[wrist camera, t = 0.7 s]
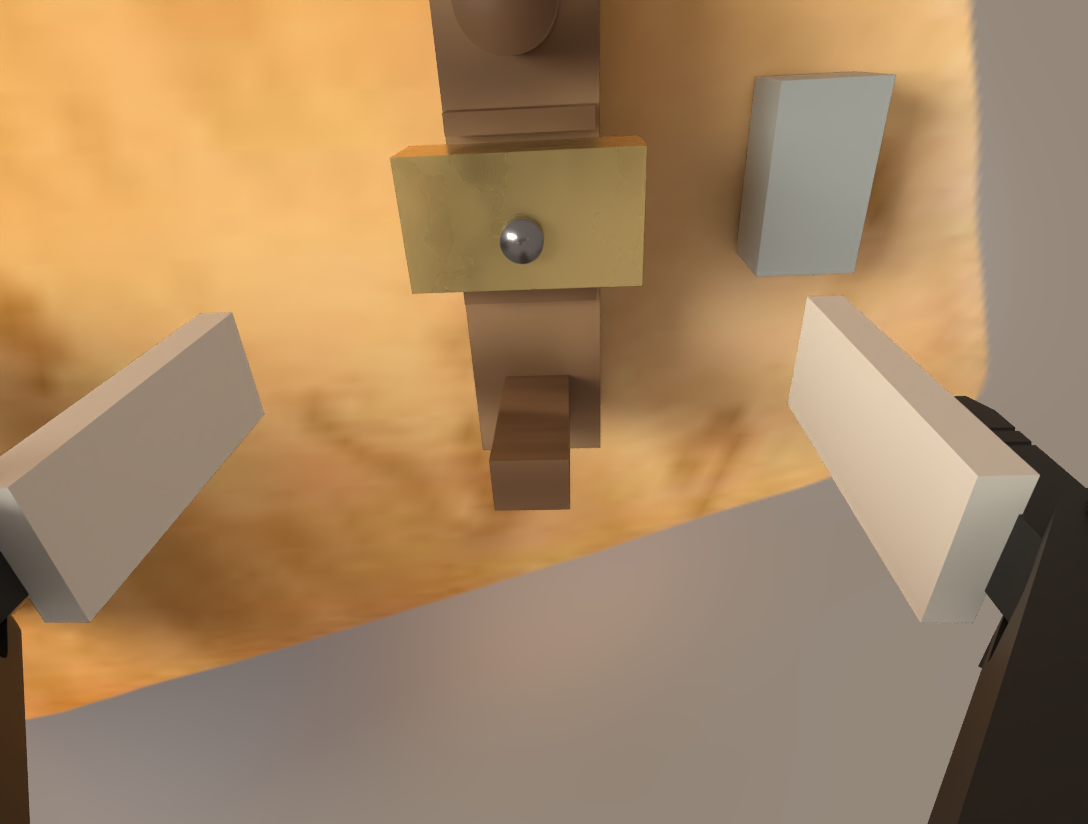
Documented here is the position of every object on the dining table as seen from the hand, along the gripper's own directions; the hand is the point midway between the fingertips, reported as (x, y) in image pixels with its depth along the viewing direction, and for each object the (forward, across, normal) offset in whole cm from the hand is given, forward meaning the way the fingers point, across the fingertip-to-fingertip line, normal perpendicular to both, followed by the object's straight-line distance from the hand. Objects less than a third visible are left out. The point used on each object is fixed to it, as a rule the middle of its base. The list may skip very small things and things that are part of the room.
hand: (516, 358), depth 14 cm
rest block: (+19, +12, +1) cm, 22 cm away
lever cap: (+13, 0, +1) cm, 13 cm away
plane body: (+19, -1, 0) cm, 19 cm away
